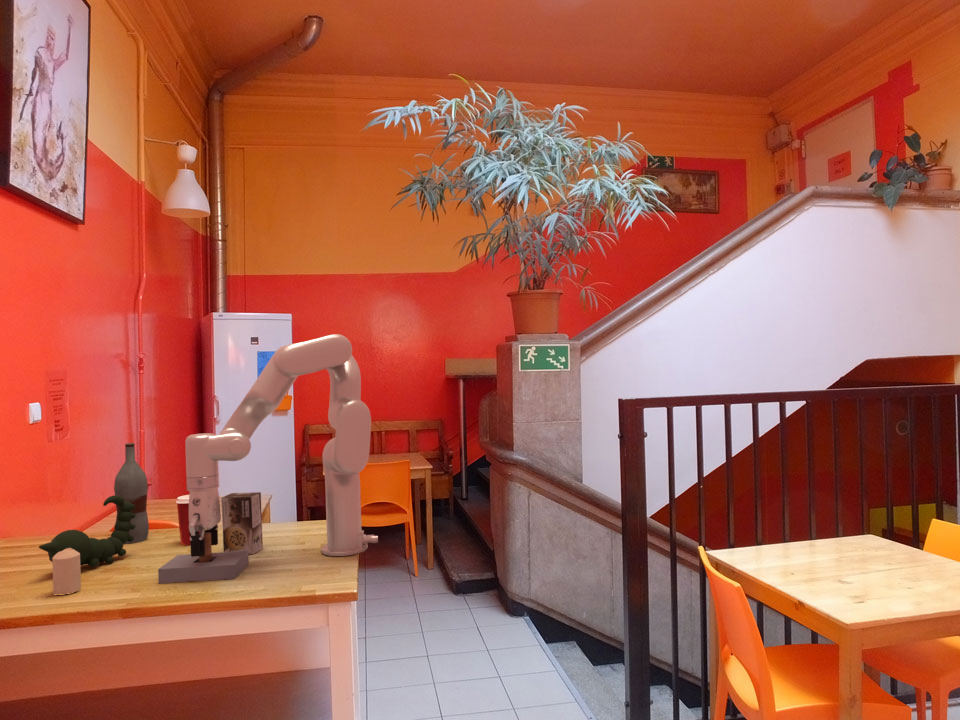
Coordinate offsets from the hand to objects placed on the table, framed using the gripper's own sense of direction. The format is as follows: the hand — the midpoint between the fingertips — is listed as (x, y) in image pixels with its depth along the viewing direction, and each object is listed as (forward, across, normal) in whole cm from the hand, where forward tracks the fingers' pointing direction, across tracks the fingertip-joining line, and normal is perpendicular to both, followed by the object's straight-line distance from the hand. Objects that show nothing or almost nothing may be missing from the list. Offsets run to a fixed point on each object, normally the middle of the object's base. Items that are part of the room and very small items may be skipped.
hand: (204, 550), depth 161 cm
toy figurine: (+6, +12, +34) cm, 37 cm away
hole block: (+6, 0, 0) cm, 6 cm away
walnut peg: (+6, 0, 0) cm, 6 cm away
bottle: (+6, +39, +35) cm, 53 cm away
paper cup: (+6, +32, +15) cm, 36 cm away
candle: (+6, -8, +29) cm, 31 cm away
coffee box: (+6, +19, -4) cm, 20 cm away
